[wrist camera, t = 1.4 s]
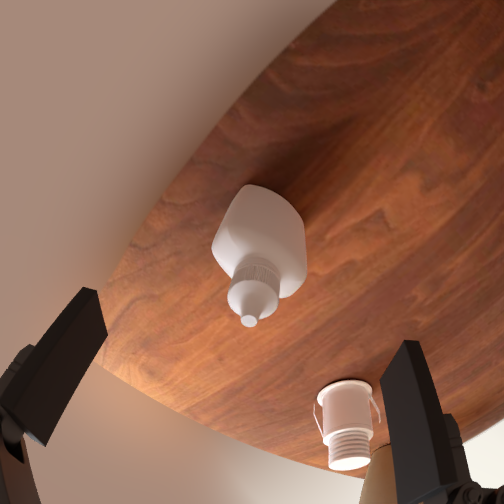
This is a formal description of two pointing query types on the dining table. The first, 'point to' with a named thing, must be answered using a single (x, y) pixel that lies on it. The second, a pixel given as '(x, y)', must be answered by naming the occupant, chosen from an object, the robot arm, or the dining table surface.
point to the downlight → (347, 423)
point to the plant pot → (380, 479)
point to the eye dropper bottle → (260, 252)
